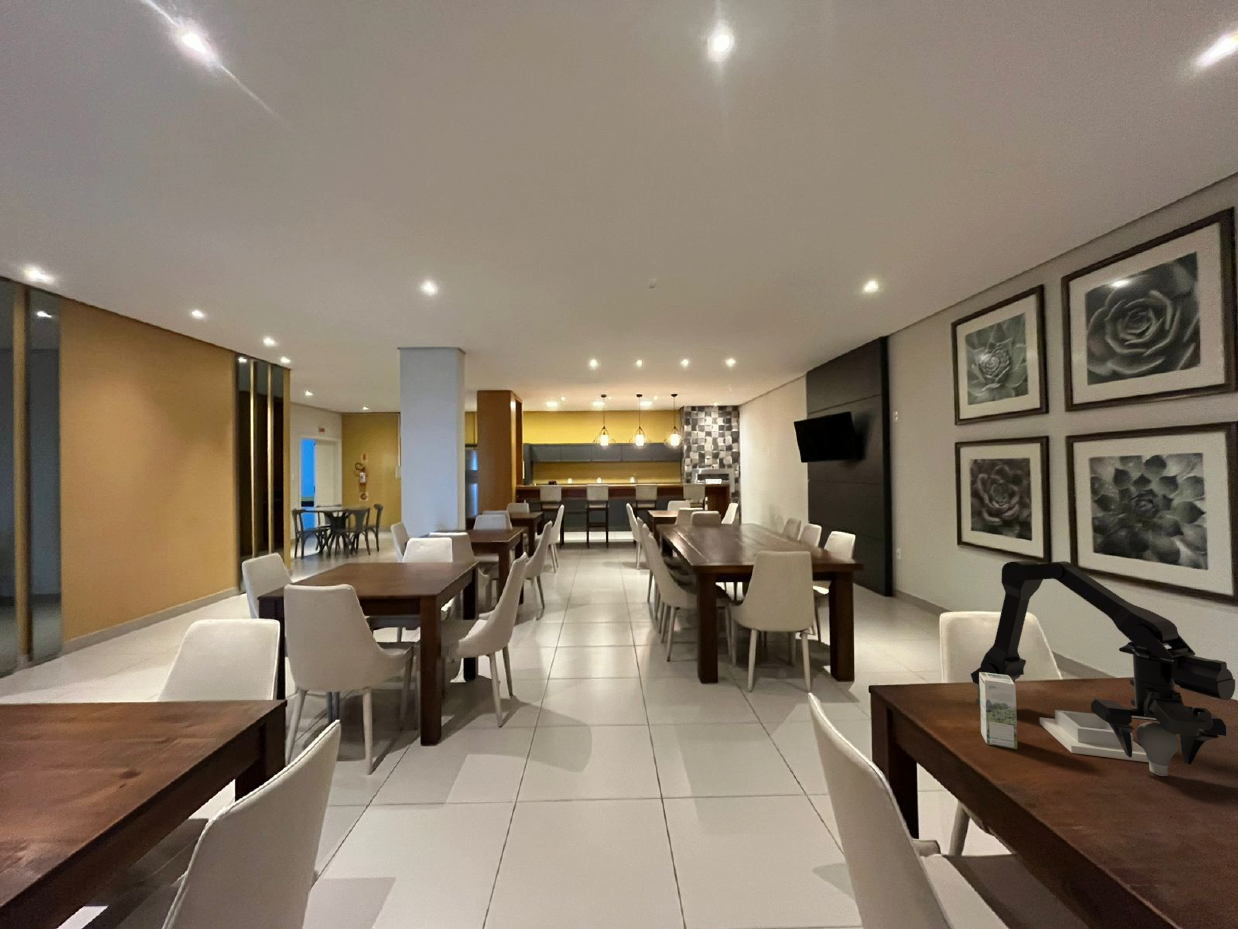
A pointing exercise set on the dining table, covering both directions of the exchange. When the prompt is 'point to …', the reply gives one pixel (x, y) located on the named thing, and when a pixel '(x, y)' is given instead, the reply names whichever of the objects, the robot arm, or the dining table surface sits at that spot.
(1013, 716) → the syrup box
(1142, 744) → the light bulb
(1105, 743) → the socket base
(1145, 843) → the dining table surface
